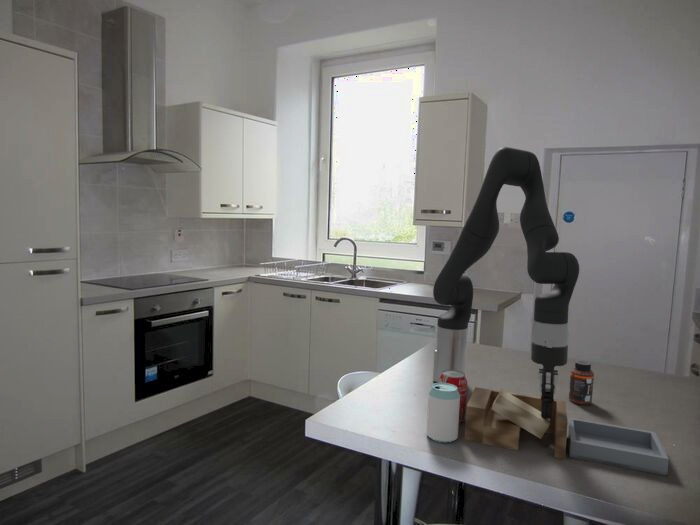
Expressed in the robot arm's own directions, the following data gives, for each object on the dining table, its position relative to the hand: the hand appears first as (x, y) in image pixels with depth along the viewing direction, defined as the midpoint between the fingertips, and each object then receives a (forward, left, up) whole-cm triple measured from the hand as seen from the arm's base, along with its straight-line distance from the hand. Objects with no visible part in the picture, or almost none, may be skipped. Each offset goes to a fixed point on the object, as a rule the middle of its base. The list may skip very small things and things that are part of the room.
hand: (546, 417), depth 111 cm
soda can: (-22, +4, -7) cm, 23 cm away
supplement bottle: (+9, +34, -7) cm, 36 cm away
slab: (-6, 0, -2) cm, 7 cm away
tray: (+14, +3, -6) cm, 16 cm away
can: (-22, -7, -7) cm, 24 cm away
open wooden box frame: (-6, +1, -6) cm, 9 cm away
